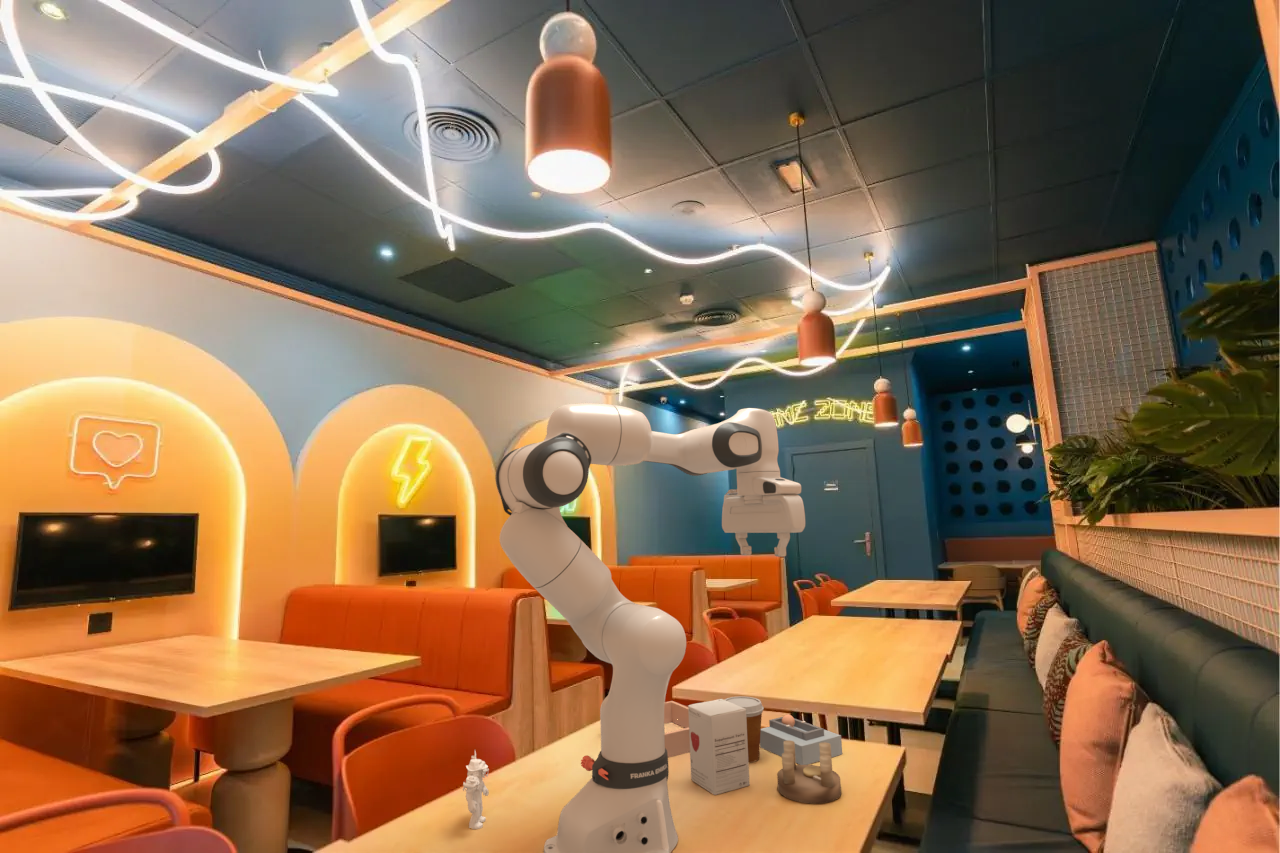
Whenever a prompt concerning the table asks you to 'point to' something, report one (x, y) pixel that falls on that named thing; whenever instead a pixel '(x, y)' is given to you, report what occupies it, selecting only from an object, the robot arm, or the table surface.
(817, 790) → the dial
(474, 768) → the flower shoulder figurine
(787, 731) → the stand
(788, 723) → the indicator ball
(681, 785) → the table surface
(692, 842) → the table surface
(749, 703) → the disposable coffee cup
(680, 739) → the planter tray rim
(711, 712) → the supplement box
